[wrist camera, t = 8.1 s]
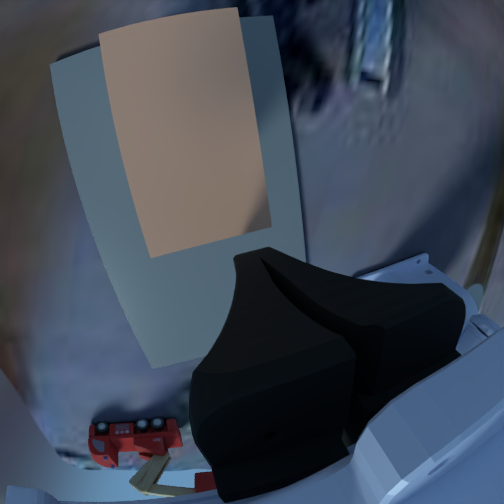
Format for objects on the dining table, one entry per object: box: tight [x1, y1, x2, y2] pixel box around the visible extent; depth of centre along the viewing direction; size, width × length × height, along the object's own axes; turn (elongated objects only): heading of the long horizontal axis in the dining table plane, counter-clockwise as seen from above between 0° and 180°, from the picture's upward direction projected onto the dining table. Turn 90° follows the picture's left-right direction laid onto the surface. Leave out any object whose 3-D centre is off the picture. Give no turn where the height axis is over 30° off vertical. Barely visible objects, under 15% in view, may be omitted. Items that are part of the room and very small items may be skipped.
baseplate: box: [50, 16, 306, 369], centre depth 20 cm, size 14×24×1 cm, turn 9°
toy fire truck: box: [88, 417, 217, 497], centre depth 24 cm, size 3×14×10 cm, turn 91°
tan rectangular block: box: [99, 7, 272, 258], centre depth 11 cm, size 4×8×4 cm, turn 9°
